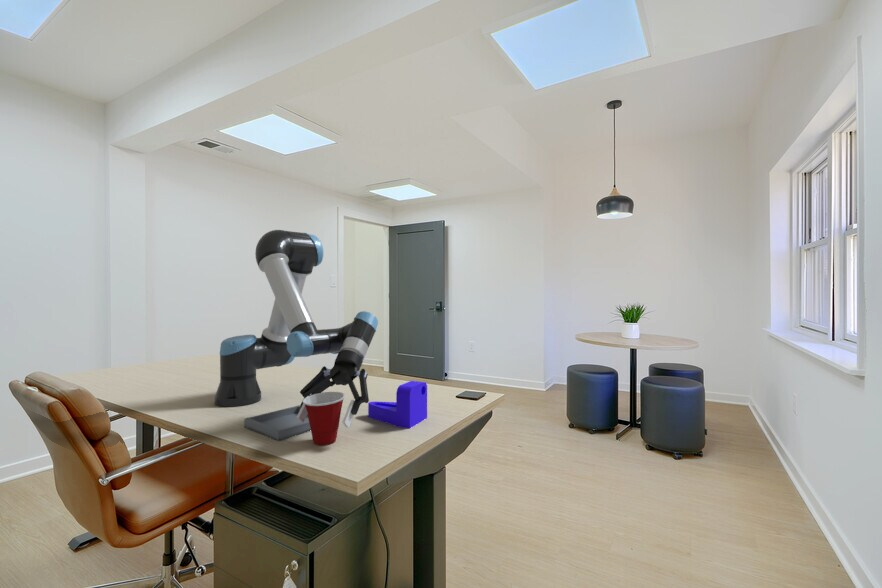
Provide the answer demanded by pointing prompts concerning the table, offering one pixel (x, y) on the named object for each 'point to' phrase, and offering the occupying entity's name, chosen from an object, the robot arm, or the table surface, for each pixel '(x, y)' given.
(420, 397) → the bracket
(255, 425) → the tray
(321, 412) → the plastic cup
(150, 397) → the table surface
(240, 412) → the table surface
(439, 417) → the table surface
